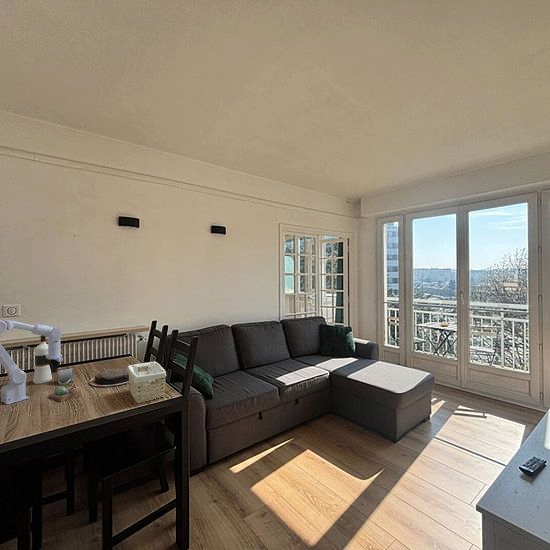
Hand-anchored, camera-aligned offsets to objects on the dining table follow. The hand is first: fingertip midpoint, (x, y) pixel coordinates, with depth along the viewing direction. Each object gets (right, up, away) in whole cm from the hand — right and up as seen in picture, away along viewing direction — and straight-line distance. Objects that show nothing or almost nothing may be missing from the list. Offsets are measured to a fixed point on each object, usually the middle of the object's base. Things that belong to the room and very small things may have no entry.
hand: (54, 372), depth 173 cm
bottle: (+6, -8, -5) cm, 11 cm away
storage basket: (+54, -11, -4) cm, 55 cm away
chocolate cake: (+25, -11, +19) cm, 33 cm away
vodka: (-17, -11, +14) cm, 25 cm away
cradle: (+11, -11, -7) cm, 17 cm away
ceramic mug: (-3, -11, +14) cm, 18 cm away
